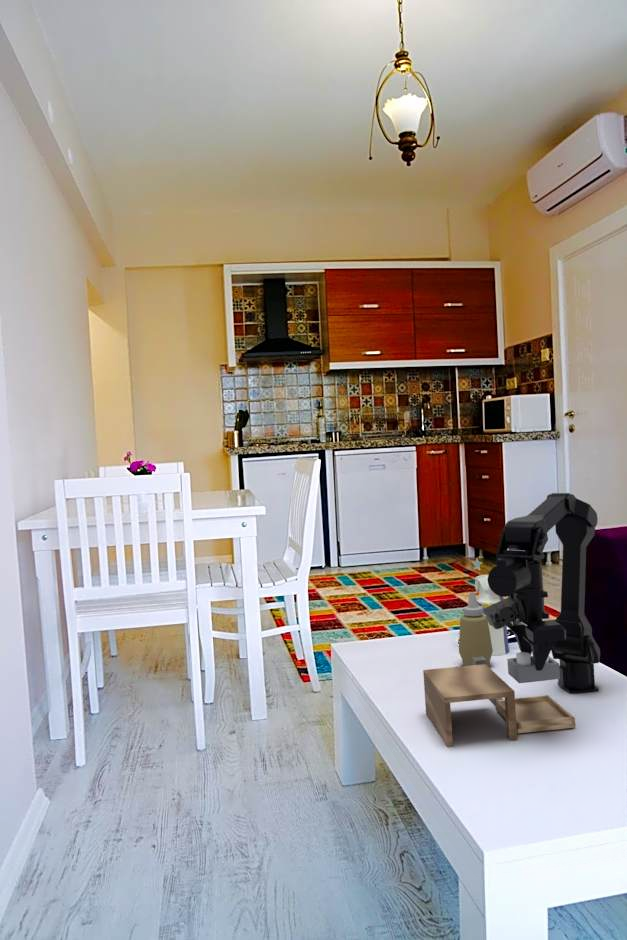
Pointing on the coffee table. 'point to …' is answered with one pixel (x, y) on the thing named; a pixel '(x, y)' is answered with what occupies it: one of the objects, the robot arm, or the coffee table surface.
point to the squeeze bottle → (474, 633)
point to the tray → (531, 669)
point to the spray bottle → (485, 600)
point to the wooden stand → (464, 695)
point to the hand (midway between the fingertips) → (532, 665)
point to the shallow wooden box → (534, 711)
